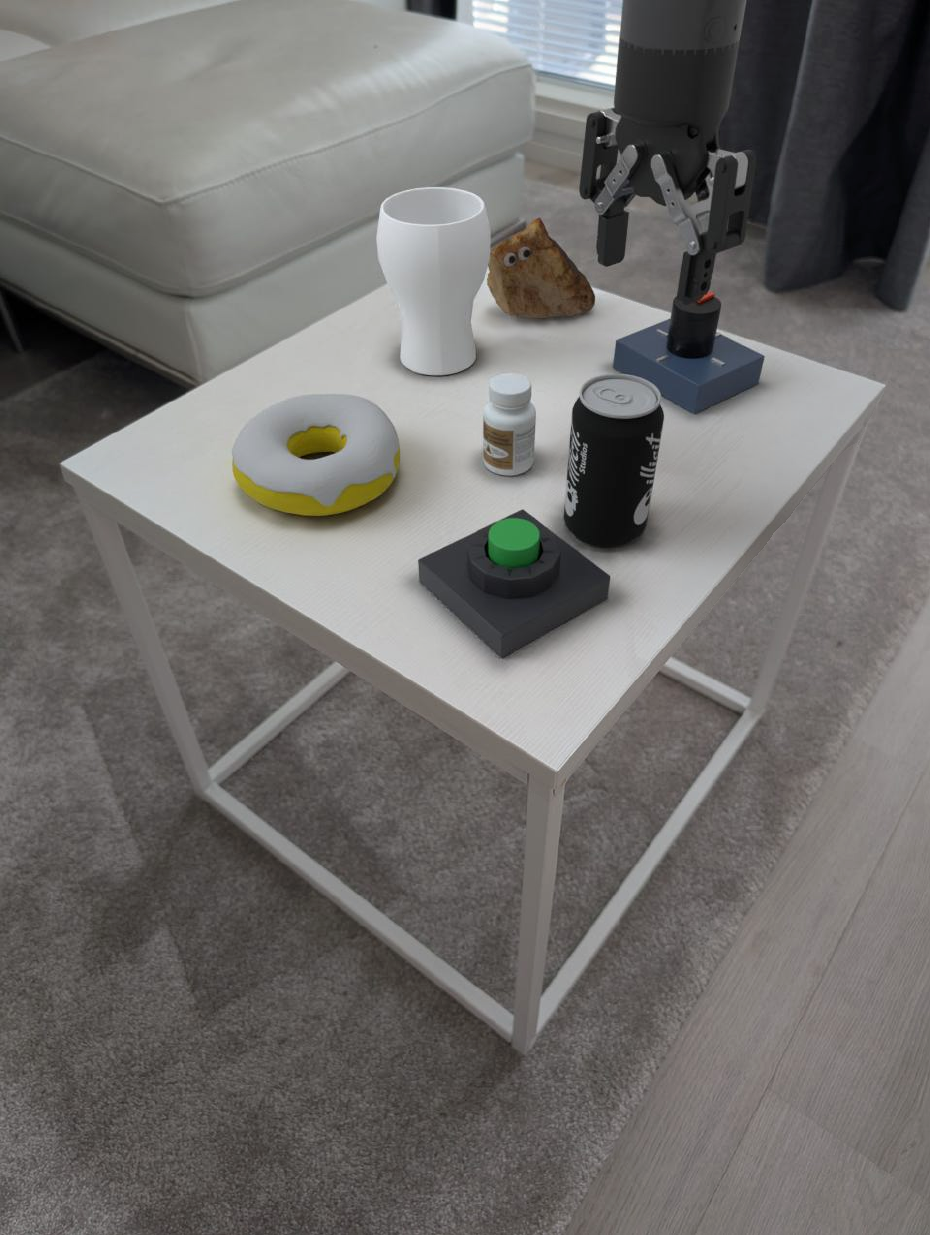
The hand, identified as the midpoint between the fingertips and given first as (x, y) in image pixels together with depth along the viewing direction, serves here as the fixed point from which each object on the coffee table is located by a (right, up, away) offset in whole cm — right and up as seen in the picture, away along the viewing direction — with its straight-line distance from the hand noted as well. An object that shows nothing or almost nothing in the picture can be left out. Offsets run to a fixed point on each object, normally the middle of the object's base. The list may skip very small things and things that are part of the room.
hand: (648, 281), depth 68 cm
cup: (-17, +1, +24) cm, 29 cm away
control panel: (+8, -2, +21) cm, 22 cm away
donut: (-26, -14, +10) cm, 31 cm away
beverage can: (-3, -18, +4) cm, 19 cm away
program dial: (+8, +1, +19) cm, 20 cm away
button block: (-10, -23, -1) cm, 25 cm away
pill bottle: (-10, -12, +11) cm, 19 cm away
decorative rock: (-6, +8, +31) cm, 32 cm away
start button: (-10, -21, -3) cm, 23 cm away
